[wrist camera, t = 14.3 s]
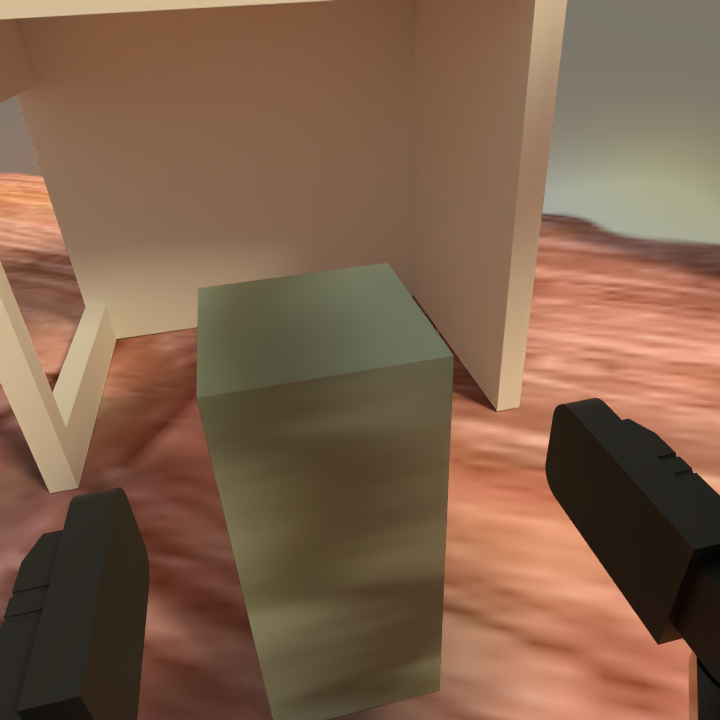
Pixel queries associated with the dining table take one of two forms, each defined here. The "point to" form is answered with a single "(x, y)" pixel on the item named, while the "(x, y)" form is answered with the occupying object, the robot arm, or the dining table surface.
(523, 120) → the cubby
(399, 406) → the sage block
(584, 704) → the dining table surface
